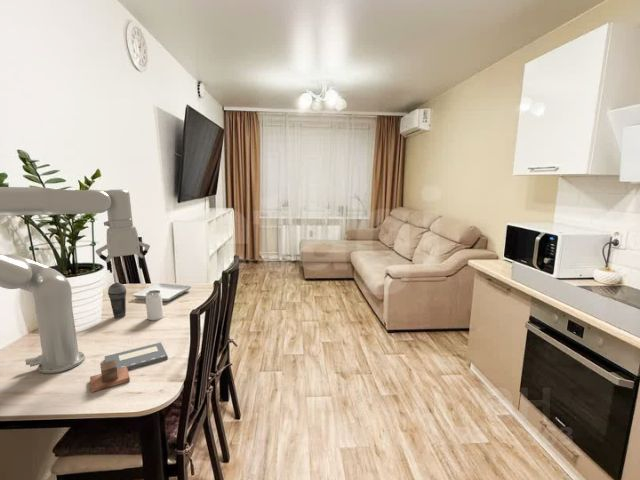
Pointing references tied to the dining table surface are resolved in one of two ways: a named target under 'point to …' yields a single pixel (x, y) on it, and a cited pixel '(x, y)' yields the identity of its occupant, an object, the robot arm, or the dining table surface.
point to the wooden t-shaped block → (109, 376)
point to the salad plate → (164, 291)
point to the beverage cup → (117, 299)
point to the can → (154, 305)
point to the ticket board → (138, 356)
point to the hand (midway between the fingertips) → (126, 269)
